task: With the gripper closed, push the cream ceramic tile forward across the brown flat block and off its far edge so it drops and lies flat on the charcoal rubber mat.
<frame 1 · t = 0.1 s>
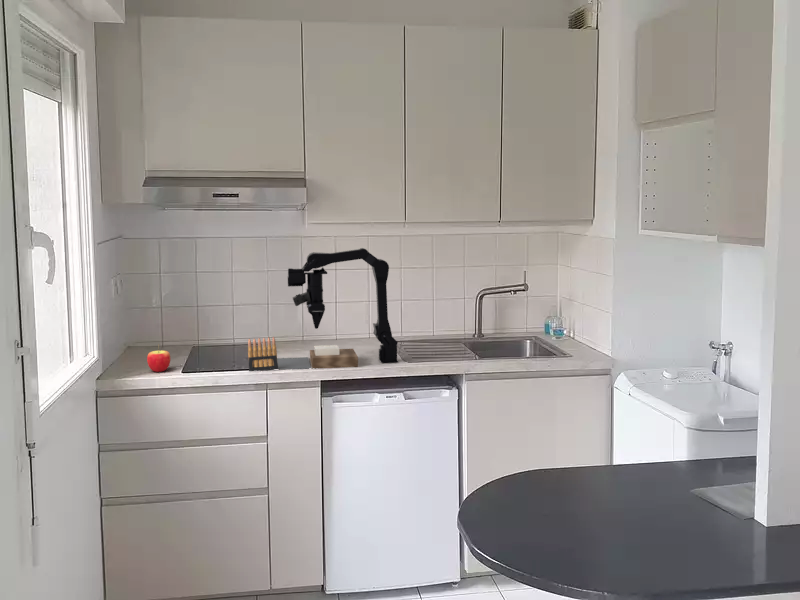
hand: (315, 326, 311), 15 cm above the countertop, fingers open, 9 cm apart
brown flat block: (333, 363, 314), on the countertop
apple: (159, 371, 301), on the countertop
tile: (326, 353, 313), point 4 cm above the countertop, touching brown flat block
ammunition clip: (263, 369, 303), on the countertop, touching mat
mat: (291, 363, 313), on the countertop
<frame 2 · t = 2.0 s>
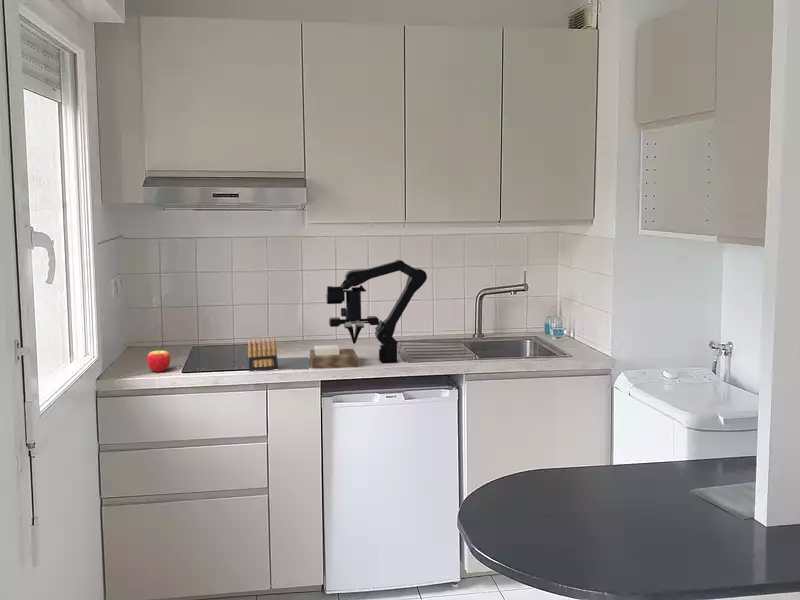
hand: (354, 343, 314), 8 cm above the countertop, fingers closed
nothing on the countertop moved.
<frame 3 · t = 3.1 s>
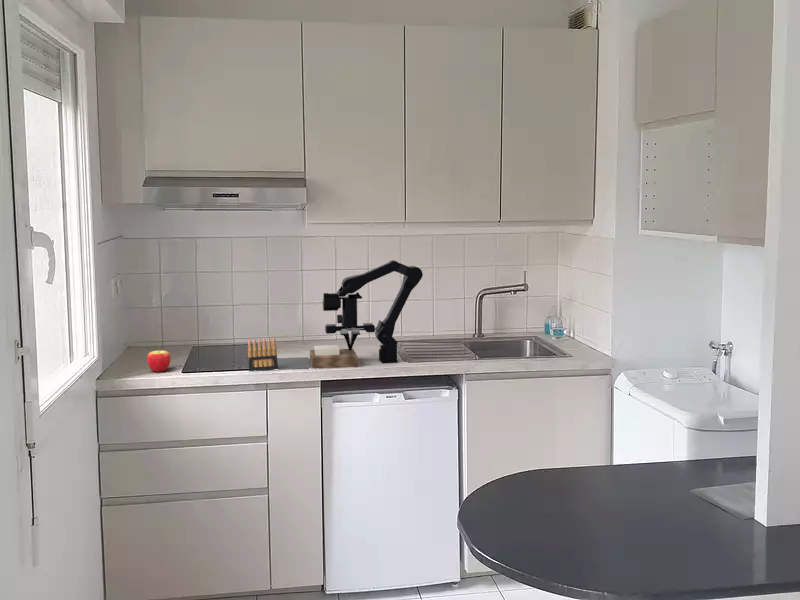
hand: (350, 350, 315), 5 cm above the countertop, fingers closed
nothing on the countertop moved.
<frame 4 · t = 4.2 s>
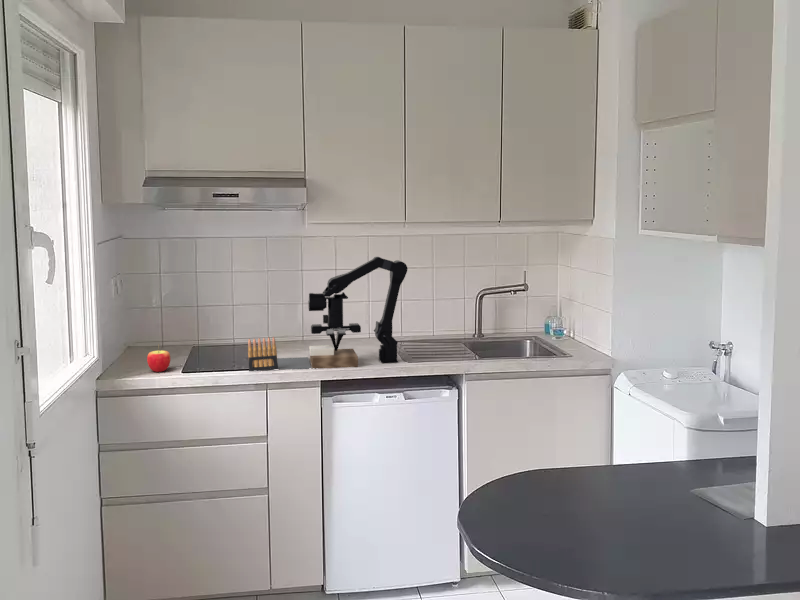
hand: (335, 350, 314), 5 cm above the countertop, fingers closed
tile: (321, 353, 313), point 4 cm above the countertop, touching brown flat block, gripper
everything else where it was.
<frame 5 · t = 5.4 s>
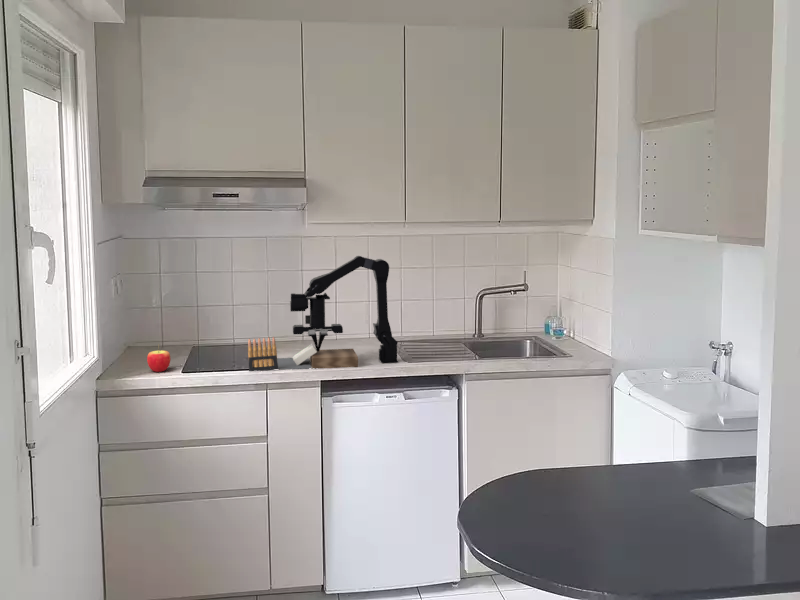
hand: (317, 351, 312), 5 cm above the countertop, fingers closed
tile: (306, 356, 312), point 3 cm above the countertop, tilted 34°, touching gripper, mat
everything else where it was.
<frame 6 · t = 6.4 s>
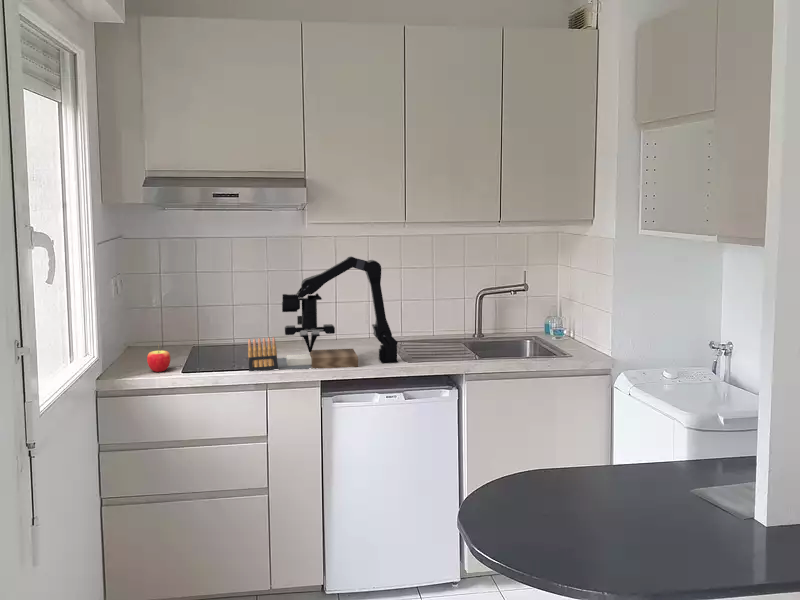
hand: (310, 351, 312), 5 cm above the countertop, fingers closed
tile: (298, 363, 312), point 1 cm above the countertop
everything else where it was.
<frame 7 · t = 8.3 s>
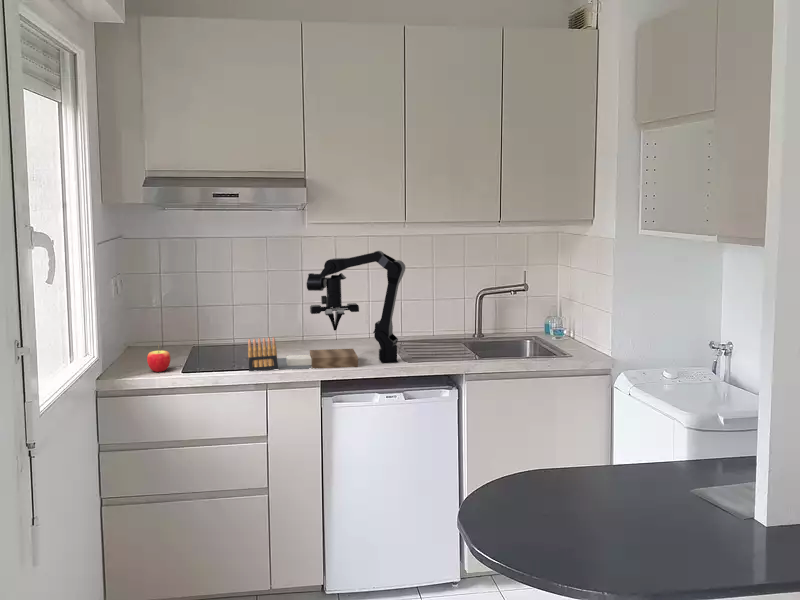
hand: (335, 330, 321), 12 cm above the countertop, fingers closed
tile: (298, 363, 312), resting on mat
everything else where it was.
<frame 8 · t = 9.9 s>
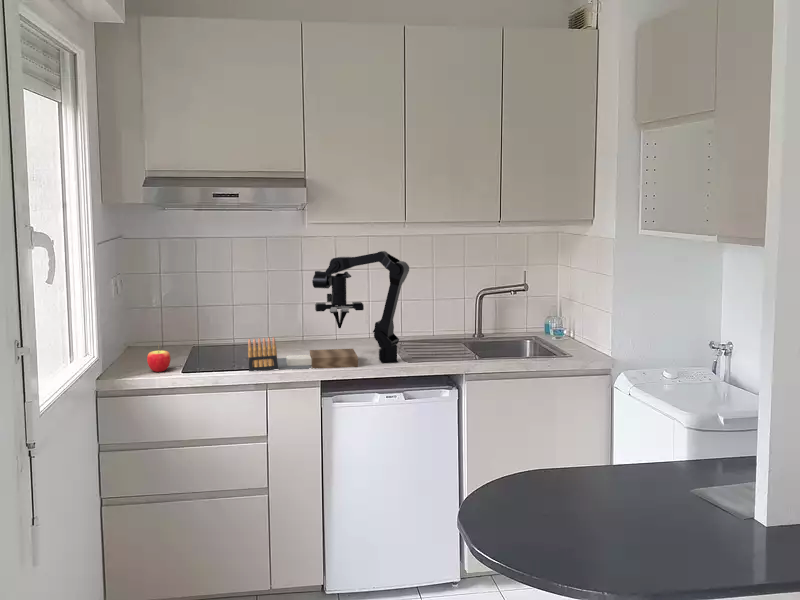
hand: (339, 328, 323), 12 cm above the countertop, fingers closed
nothing on the countertop moved.
at the end: tile inside the target area (3.3 cm from its centre), resting on mat; tile tilted 0° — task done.
